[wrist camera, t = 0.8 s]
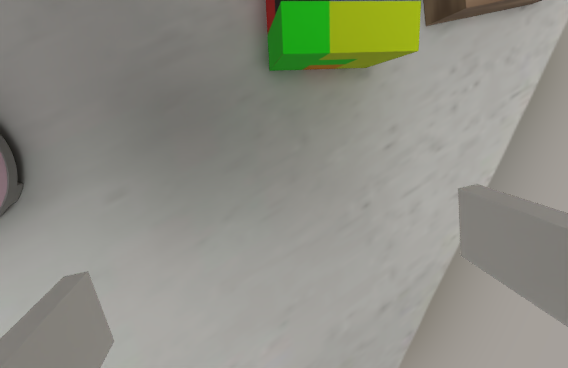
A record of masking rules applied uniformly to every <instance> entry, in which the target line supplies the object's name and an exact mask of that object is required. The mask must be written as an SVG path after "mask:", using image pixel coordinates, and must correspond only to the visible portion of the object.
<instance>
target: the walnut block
mask: <svg viewBox="0 0 568 368" xmlns="http://www.w3.org/2000/svg"><path fill="white" fill-rule="evenodd" d="M539 1H542V0H424V10H425V21H426V26H428V25H433V24H438V23H443V22H448V21H453V20H457V19H462V18H467V17H472V16H477V15H481V14H486V13H491V12H496V11H501V10H506V9H510V8H515V7H520V6H525V5H530V4H533V3H536V2H539Z"/></svg>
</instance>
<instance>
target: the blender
mask: <svg viewBox="0 0 568 368" xmlns="http://www.w3.org/2000/svg"><path fill="white" fill-rule="evenodd" d="M22 188H23V183H18V182H17V168H16V163H15V160H14V157H13V154H12V152H11V150H10V148H9V146H8V144H7V143H6V141H5V140H4V138H3V137H2V136H1V134H0V216H1V215H2V214H3V213H4V212H5V211H6V210H7V208H8V207H9V206H10V205H12V204H13V203H15V202H16V201H17V200H18V198H19V196H20V194H21V191H22Z"/></svg>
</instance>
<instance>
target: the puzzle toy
mask: <svg viewBox="0 0 568 368" xmlns="http://www.w3.org/2000/svg"><path fill="white" fill-rule="evenodd" d="M420 11H421V0H266V13H267V33H268V52H269V71H275V70H308V69H340V68H367V67H370V66H373V65H376V64H379V63H382V62H385V61H389V60H392V59H395V58H398V57H401V56H404V55H407V54H410V53H414V52H417V51H418V50H419V30H420Z"/></svg>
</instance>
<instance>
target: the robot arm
mask: <svg viewBox="0 0 568 368" xmlns="http://www.w3.org/2000/svg"><path fill="white" fill-rule="evenodd" d="M458 197H459V223H460V249H461V256H462V257H463V258H465V259H466V260H468V261H469V262H471V263H472V264H474V265H476V266H477V267H479V268H480V269H481V270H483V271H484V272H486V273H487V274H489V275H491V276H492V277H493V278H495V279H497V280H498V281H499V282H501V283H503V284H504V285H506V286H507V287H508V288H510V289H512V290H513V291H515V292H516V293H518V294H519V295H521V296H522V297H524V298H525V299H527V300H528V301H530V302H532V303H533V304H534V305H536V306H537V307H539V308H540V309H542V310H543V311H545V312H546V313H548V314H549V315H551V316H552V317H554V318H555V319H557V320H558V321H560V322H561V323H563V324H564V325H566V326H567V327H568V213H566V212H562V211H559V210H556V209H553V208H550V207H547V206H544V205H541V204H538V203H534V202H531V201H528V200H525V199H522V198H519V197H515V196H513V195H510V194H506V193H503V192H500V191H497V190H493V189H491V188H488V187H485V186H481V185H478V184H476V185H471V186H467V187H463V188H458ZM113 342H114V339H113V336H112V334H111V331H110V328H109V326H108V323H107V320H106V318H105V315H104V312H103V310H102V307H101V305H100V302H99V299H98V297H97V294H96V291H95V289H94V286H93V283H92V281H91V278H90V275H89V273H88V272H83V273H79V274H74V275H70V276H65V277H63V278H62V279H61V280H60V281H59V282H58V283H57V284H56V285H55V286H54V287H53V288H52V289H51V290H50V291H49V292H48V293H47V294H46V295H45V296H44V297H43V298H42V299H41V300H40V301H39V302H38V303H36V304H35V305H34V306H33V307H32V308H31V309H30V310H29V311H28V312H27V313H26V314H25V315H24V316H23V317H22V318H21V319H20V320H19V321H18V322H17V323H16V324H15V325H14V326H13V327H12V328H11V329H10V330H9V331H8V332H7V333H6V334H5V335H4V336H3V337H2V338H1V339H0V368H100V367H101V365H102V363H103V361H104V360H105V358H106V356H107V354H108V352H109V350H110V348H111V346H112V344H113Z"/></svg>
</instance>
